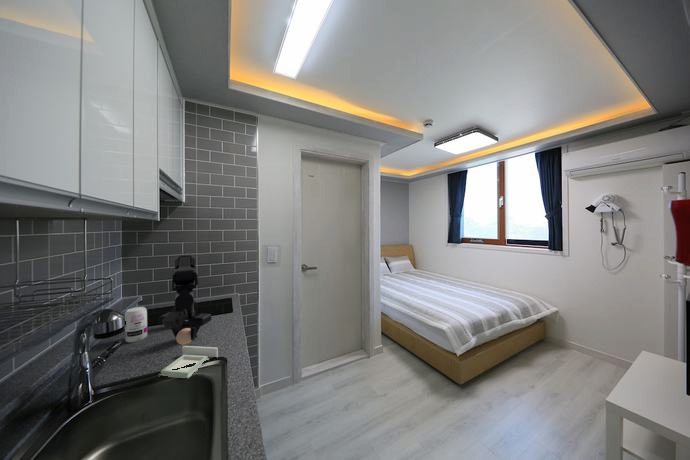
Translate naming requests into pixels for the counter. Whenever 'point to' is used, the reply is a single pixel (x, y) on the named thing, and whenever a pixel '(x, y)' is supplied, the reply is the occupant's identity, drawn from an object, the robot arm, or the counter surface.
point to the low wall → (200, 351)
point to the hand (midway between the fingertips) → (185, 339)
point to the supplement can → (136, 324)
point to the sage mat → (183, 362)
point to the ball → (184, 336)
